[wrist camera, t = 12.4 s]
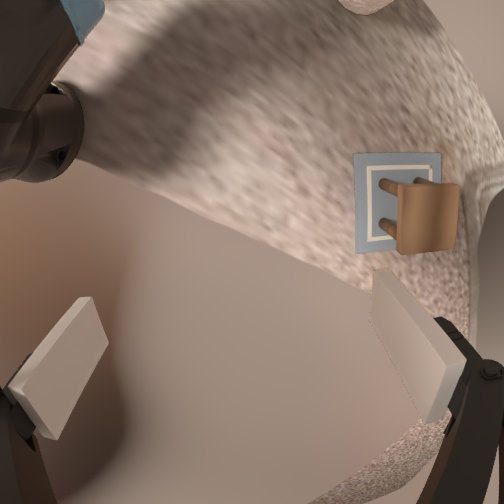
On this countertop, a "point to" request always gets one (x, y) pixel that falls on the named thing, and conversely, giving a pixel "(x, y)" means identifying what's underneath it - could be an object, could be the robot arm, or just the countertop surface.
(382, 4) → the white cup
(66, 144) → the robot arm
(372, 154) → the mat
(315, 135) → the countertop surface
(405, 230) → the stool
